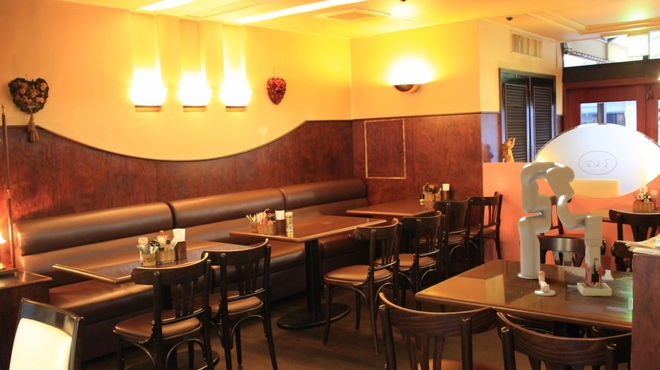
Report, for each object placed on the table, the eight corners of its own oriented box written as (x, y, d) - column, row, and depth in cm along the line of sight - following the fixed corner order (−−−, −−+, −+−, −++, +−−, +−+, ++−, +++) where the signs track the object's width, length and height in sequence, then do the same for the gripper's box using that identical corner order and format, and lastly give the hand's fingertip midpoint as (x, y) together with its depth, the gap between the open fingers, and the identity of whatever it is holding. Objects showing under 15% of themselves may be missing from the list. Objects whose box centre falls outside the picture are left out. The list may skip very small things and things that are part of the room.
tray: (577, 289, 300) (577, 282, 300) (604, 289, 298) (604, 282, 298) (582, 295, 288) (582, 289, 288) (611, 295, 286) (611, 289, 286)
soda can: (603, 289, 289) (603, 263, 288) (586, 288, 290) (586, 262, 290) (600, 285, 296) (599, 259, 295) (583, 285, 297) (583, 259, 296)
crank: (541, 291, 293) (541, 276, 292) (537, 285, 306) (537, 270, 305) (549, 291, 292) (549, 276, 291) (545, 285, 305) (545, 270, 305)
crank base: (533, 291, 299) (533, 288, 299) (553, 291, 298) (553, 288, 298) (536, 296, 291) (536, 293, 290) (557, 296, 289) (556, 293, 289)
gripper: (580, 238, 301) (581, 276, 302) (588, 245, 284) (589, 284, 285) (597, 238, 299) (597, 276, 301) (606, 245, 282) (606, 284, 284)
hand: (593, 280), depth 293 cm, fingers closed on soda can, 6 cm apart
